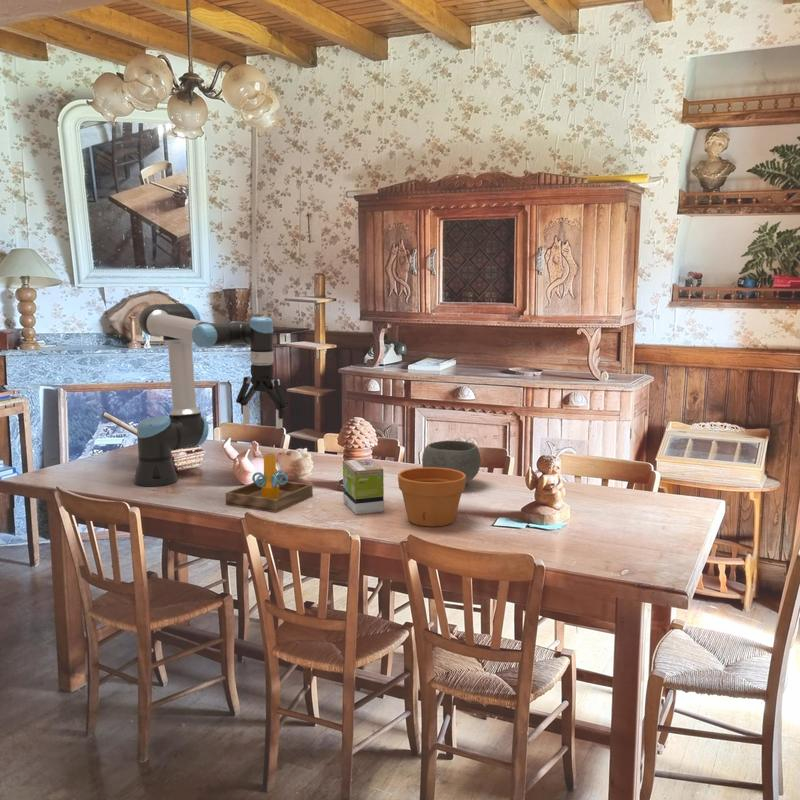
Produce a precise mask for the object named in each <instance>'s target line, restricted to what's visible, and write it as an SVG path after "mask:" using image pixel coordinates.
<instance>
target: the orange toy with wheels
mask: <svg viewBox="0 0 800 800" xmlns="http://www.w3.org/2000/svg"><path fill="white" fill-rule="evenodd" d="M276 459H277V455H276V453H274V452H266V453H265V452H264V453H263V473H262V472H260V471H257V472H254V473H253V474H252V478H251V479H252V483H255V484H256V485H257V486H258V487H261V496H262V497H264V498H271V499H276V498H279V485H285V484H286V483H287V482H289V477H288V475H287V474H285V473H284V472H283V471H282V470H280V469H279V470H277V460H276ZM257 475H258V476H257ZM256 476H257V477H256ZM255 477H256V478H255ZM279 477H280V479H279ZM261 478H262V479H261ZM284 478H285V480H284ZM260 479H261V480H262V481H261V482H258V481H259V480H260ZM283 480H284V481H285V482H284V483H280V482H281V481H283ZM259 484H262V485H259Z"/></svg>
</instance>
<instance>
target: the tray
mask: <svg viewBox="0 0 800 800" xmlns="http://www.w3.org/2000/svg"><path fill="white" fill-rule="evenodd" d="M261 481H262V479H259V480H258V482H261ZM284 482H285V480H282V481H281V482H280V483H284ZM259 485H262V484H259ZM313 487H314V486H313V484H309V483H308V484H307V483H301V482H293V481H288V482H287V483H286V484H285V485H279V498H276V499H271V498H264V497H262V496H261V487H258V486H257V485H256V484H255V483H254V482H251V483H249V484H247V485H246V484H245V485H243V486H240V487H238V488H235V489H233V490H231V491H228V492H225V505H226V506H233V507H238V508H244V509H245V508H246V509H253V510H259V511H264V512H270V513H278V512H280V511H283V510H284V509H287V508H289V507H291V506H293V505H296V504H298V503H300V502H303V501H305V500H307V499H310V498H312V497H314V494H313V492H314V491H313V490H314V489H313Z"/></svg>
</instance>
